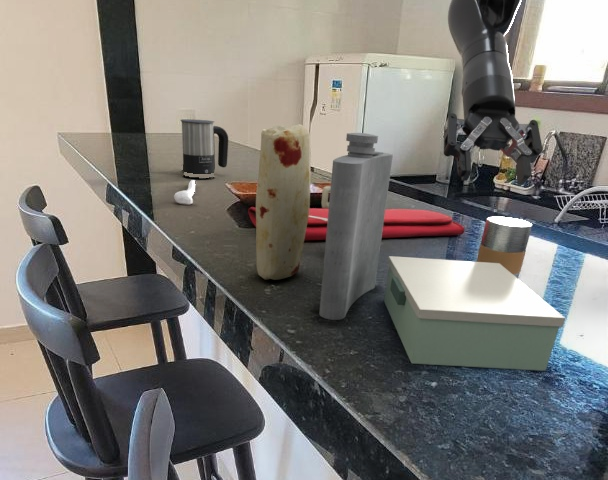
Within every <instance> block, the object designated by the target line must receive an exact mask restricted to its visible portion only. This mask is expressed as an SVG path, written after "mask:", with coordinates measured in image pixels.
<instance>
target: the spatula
mask: <svg viewBox="0 0 608 480" xmlns="http://www.w3.org/2000/svg"><path fill="white" fill-rule="evenodd" d="M195 181H196V179H191V180H190V181H189V182H188V186H187V189H186V190H180V191H176V192H175V194H174V195H173V198H174V201H175V202H176V203H177V204H179V205H183V206H188V205H192V204H193V202H194V199H193V196H194V194H195V193H196V185H197V183H196V184H195ZM194 192H195V193H194Z"/></svg>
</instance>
